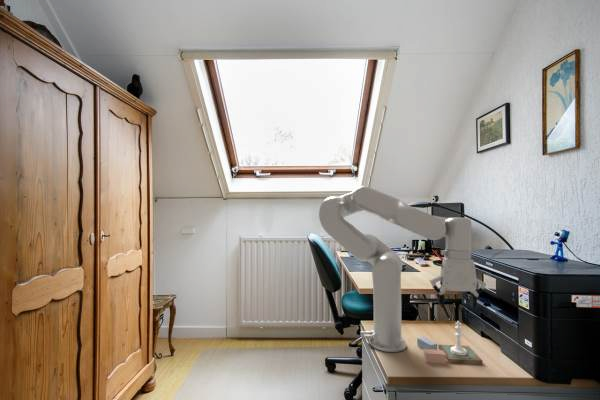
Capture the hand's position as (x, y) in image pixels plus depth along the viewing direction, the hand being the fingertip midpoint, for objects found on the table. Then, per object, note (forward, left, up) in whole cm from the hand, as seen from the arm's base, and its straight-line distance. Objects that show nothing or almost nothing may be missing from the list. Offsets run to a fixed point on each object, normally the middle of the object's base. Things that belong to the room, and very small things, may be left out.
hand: (456, 306), depth 103 cm
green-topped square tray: (+1, 0, -16) cm, 16 cm away
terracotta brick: (-8, -4, -16) cm, 19 cm away
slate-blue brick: (-8, +4, -16) cm, 19 cm away
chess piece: (0, 0, -15) cm, 15 cm away
